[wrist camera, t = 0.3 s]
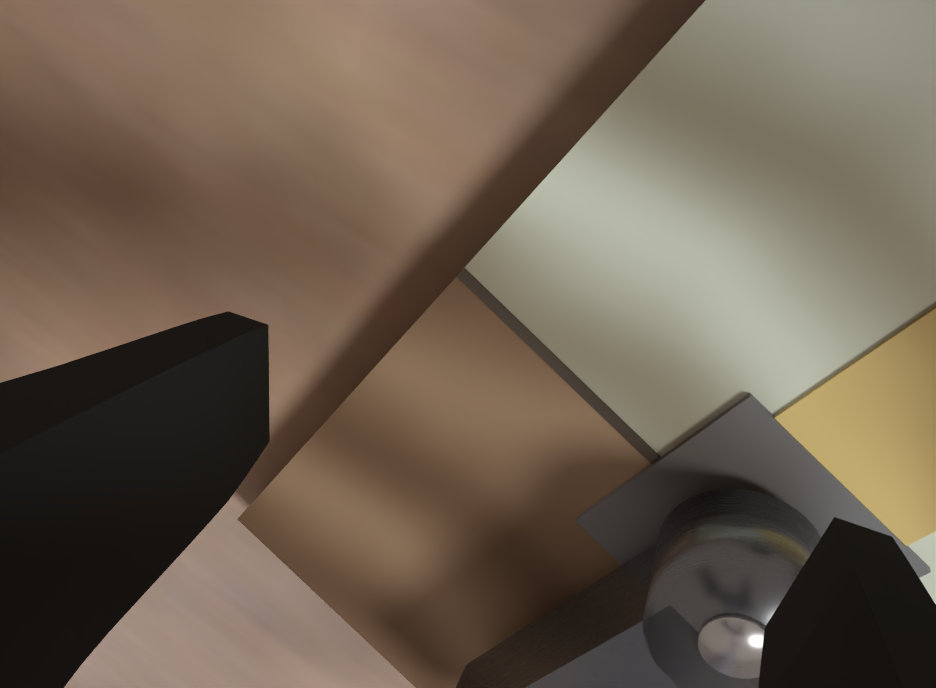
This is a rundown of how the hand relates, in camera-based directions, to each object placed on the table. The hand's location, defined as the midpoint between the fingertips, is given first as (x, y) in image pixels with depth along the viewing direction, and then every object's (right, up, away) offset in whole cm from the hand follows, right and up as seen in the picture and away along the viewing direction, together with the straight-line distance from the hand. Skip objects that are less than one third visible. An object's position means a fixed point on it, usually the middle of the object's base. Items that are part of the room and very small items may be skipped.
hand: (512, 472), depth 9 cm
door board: (+6, -2, +11) cm, 13 cm away
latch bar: (+4, -6, +11) cm, 13 cm away
